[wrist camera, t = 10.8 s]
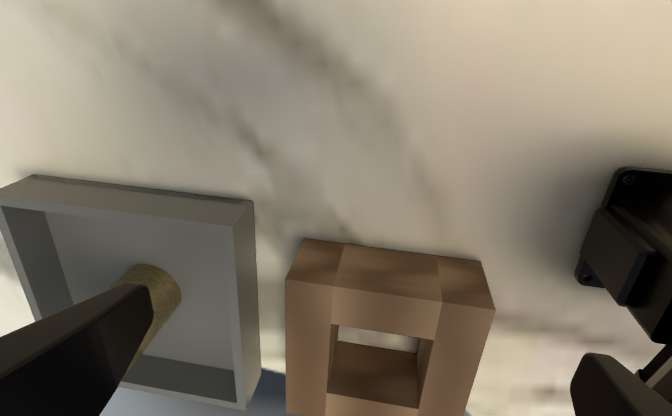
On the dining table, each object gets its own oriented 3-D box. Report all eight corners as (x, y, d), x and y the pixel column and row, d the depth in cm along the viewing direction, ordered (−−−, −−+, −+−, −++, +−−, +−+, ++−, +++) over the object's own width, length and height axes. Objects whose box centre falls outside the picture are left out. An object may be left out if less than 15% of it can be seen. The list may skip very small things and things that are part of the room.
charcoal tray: (253, 201, 22) (232, 226, 20) (261, 374, 28) (246, 410, 26) (33, 174, 24) (-14, 194, 21) (86, 343, 30) (55, 374, 28)
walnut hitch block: (480, 261, 22) (495, 309, 18) (447, 386, 26) (454, 444, 22) (304, 238, 23) (285, 279, 19) (301, 361, 27) (286, 412, 24)
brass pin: (188, 260, 24) (30, 439, 14) (197, 328, 27) (69, 522, 16) (104, 247, 25) (-105, 411, 15) (121, 315, 27) (-48, 495, 17)
